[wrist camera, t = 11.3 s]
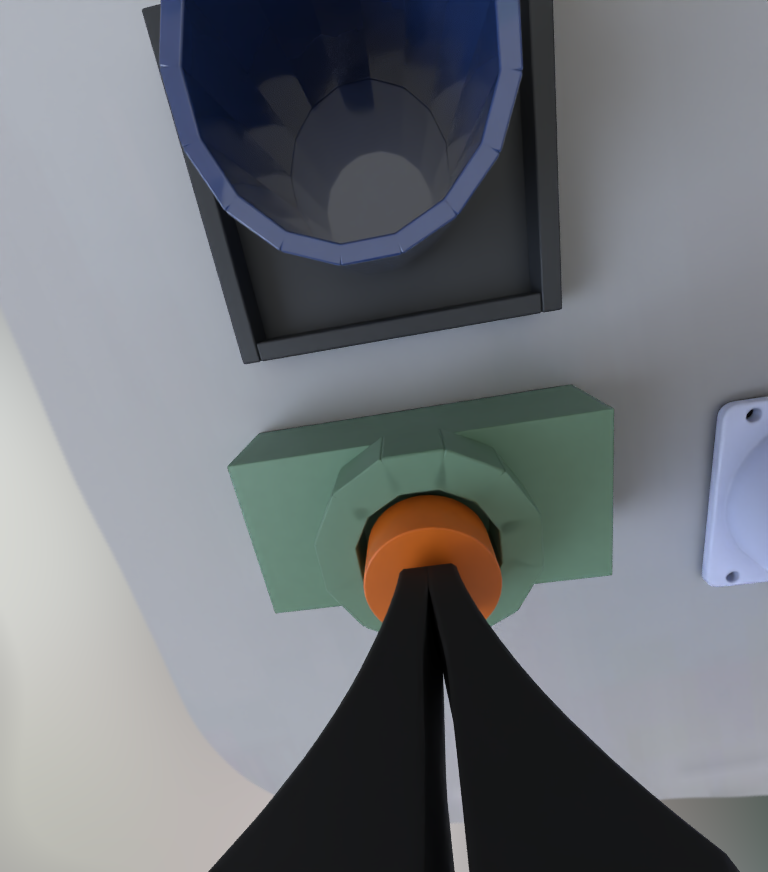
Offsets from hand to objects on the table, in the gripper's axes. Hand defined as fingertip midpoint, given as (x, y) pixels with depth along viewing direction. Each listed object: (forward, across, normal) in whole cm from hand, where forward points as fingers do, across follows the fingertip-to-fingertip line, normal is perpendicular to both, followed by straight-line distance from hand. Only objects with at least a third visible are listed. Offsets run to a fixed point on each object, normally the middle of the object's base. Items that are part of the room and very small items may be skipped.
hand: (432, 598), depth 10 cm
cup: (+6, 0, -10) cm, 12 cm away
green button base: (+7, 0, 0) cm, 7 cm away
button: (+2, 0, 0) cm, 2 cm away
